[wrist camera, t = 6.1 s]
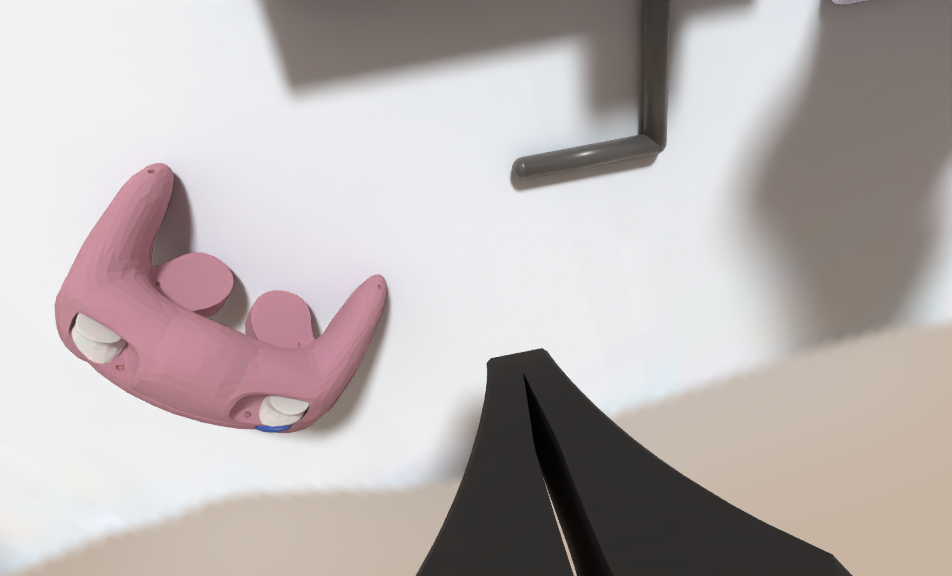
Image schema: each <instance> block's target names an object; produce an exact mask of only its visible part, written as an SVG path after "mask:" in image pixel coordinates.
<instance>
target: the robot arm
mask: <svg viewBox="0 0 952 576" xmlns="http://www.w3.org/2000/svg"><path fill="white" fill-rule="evenodd" d="M831 1H832V2H834V3H835V4H851V3H856V2H861V1H867V0H831ZM543 478H544V479H543ZM544 481H545V482H544ZM545 484H546V485H545ZM546 486H547V489H548V492H549V495H550V498H551V500H552V503H553V506H554V509H555V511H556V514H557V517H558V520H559V523H560V525H561V528H562V531H563V534H564V536H565V539H566V542H567V545H568V548H569V551H570V554H571V557H572V560H573V564H574V567H575V570H576V574H577V576H852V575H851V574H850V573H849V572H848V571H847V570H846V569H845V568H844V566H843V565H842V564H841V563H840V562H839V561H838V560H837V559H836V558H835V557H834V556H833V555H832V554H830V553H828V552H825V551H824V550H822V549H819V548H817V547H815V546H813V545H811V544H809V543H807V542H805V541H803V540H800V539H798V538H796V537H794V536H792V535H790V534H788V533H786V532H784V531H781V530H779V529H777V528H775V527H773V526H771V525H769V524H767V523H765V522H763V521H761V520H759V519H757V518H755V517H753V516H752V515H750V514H748V513H746V512H744V511H742V510H740V509H739V508H737V507H735V506H733V505H731V504H730V503H728V502H726V501H725V500H723V499H721V498H720V497H718V496H717V495H715V494H713V493H712V492H710V491H708V490H707V489H705V488H703V487H702V486H700V485H699V484H697V483H695V482H694V481H692V480H690V479H689V478H687V477H686V476H684V475H682V474H681V473H679V472H678V471H677V470H675V469H674V468H672V467H671V466H669V465H668V464H666V463H665V462H664V461H662V460H661V459H659V458H658V457H657V456H655V455H654V454H653V453H651V452H650V451H649V450H647V449H646V448H644V447H643V446H642V445H641V444H639V443H638V442H637V441H636V440H634V439H633V438H632V437H631V436H629V435H628V434H627V433H626V432H625V431H623V430H622V429H621V428H620V427H619V426H617V425H616V424H615V423H614V422H613V421H612V420H611V419H610V418H608V417H607V416H606V415H605V414H604V413H603V412H602V411H601V410H600V409H599V408H598V407H596V406H595V405H594V404H593V403H592V402H591V401H590V400H589V399H588V398H587V397H586V396H585V395H584V394H583V393H582V392H581V391H580V390H579V389H578V388H577V386H576V385H575V384H574V383H573V382H572V381H571V380H570V379H569V378H568V377H567V376H566V374H565V373H564V372H563V371H562V370H561V369H560V367H559V366H558V365H557V364H556V363H555V361H554V360H553V359H552V357H551V356H550V355H549V353H548V352H547V351H546V350H544V349H543V348H541V349H536V350H531V351H526V352H521V353H516V354H510V355H505V356H500V357H495V358H491V359H490V360H489V361H488V362H487V384H486V392H485V399H484V404H483V409H482V414H481V419H480V423H479V427H478V431H477V435H476V438H475V442H474V445H473V448H472V452H471V455H470V459H469V462H468V464H467V467H466V470H465V473H464V476H463V479H462V481H461V484H460V486H459V489H458V491H457V494H456V496H455V499H454V501H453V503H452V505H451V508H450V510H449V512H448V515H447V517H446V519H445V521H444V523H443V526H442V528H441V530H440V532H439V534H438V536H437V538H436V540H435V542H434V544H433V546H432V547H431V549H430V551H429V553H428V555H427V557H426V558H425V560H424V562H423V564H422V566H421V567H420V569H419V571H418V573H417V575H416V576H574V575H573V572H572V569H571V566H570V563H569V560H568V556H567V553H566V550H565V547H564V544H563V541H562V538H561V534H560V531H559V528H558V525H557V522H556V519H555V515H554V512H553V509H552V505H551V502H550V499H549V495H548V492H547V489H546Z"/></svg>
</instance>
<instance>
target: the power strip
mask: <svg viewBox="0 0 952 576" xmlns="http://www.w3.org/2000/svg"><path fill="white" fill-rule="evenodd" d="M669 32H670V0H644V134H642V135H637V136H632V137H626V138H621V139H616V140H610V141H605V142H600V143H595V144H589V145H584V146H579V147H573V148H568V149H563V150H558V151H552V152H547V153H542V154H536V155H531V156H526V157H521V158H518V159H517V160H516V161H515V162H514V163H513V166H512V171H513V174H514V175H515V176H516V177H517V178H519V179H528V178H534V177H539V176H544V175H549V174H555V173H560V172H565V171H571V170H576V169H581V168H586V167H592V166H597V165H602V164H607V163H613V162H618V161H623V160H629V159H634V158H639V157H644V156H650V155H655V154H659V153H661V152H662V151H663V150H664V149H665V147H666V140H667V104H668V68H669Z"/></svg>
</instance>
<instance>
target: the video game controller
mask: <svg viewBox="0 0 952 576" xmlns="http://www.w3.org/2000/svg"><path fill="white" fill-rule="evenodd" d="M173 183H174V174H173V172H172V170H171V168H170V167H168V166H167V165H165V164H162V163H155V164H152V165H149V166H147V167H145V168H144V169H142V170H141V171H139V172H138V173H136V174H135V175H134V176H132V177H131V178H130V179H129V180H128V181H127V182H126V183H125V184H124V186H123V187H122V188H121V189H120V191H119V192H118V193H117V195H116V196H115V198H114V199H113V201H112V202H111V203H110V205H109V206H108V208H107V209H106V211H105V212H104V214H103V215H102V216H101V218H100V219H99V221H98V222H97V224H96V225H95V226H94V228H93V229H92V231H91V232H90V234H89V236H88V237H87V239H86V240H85V242H84V244H83V245H82V247H81V249H80V251H79V253H78V255H77V257H76V259H75V261H74V263H73V265H72V267H71V269H70V271H69V273H68V275H67V277H66V279H65V281H64V283H63V285H62V287H61V289H60V291H59V293H58V295H57V297H56V302H55V317H56V325H57V330H58V333H59V336H60V338H61V340H62V341H63V343H64V345H65V346H66V347H67V348H68V349H69V350H70V351H71V352H72V353H73V354H74V355H76V356H77V357H78V358H80V359H82V360H84V361H86V362H88V363H89V364H90V365H91V366H92V367H93V368H94V369H95V370H96V371H97V372H98V373H100V374H101V375H103V376H104V377H105V378H107V379H108V380H109V381H111V382H112V383H113V384H115V385H117V386H118V387H120V388H121V389H123V390H124V391H126V392H127V393H129V394H131V395H133V396H135V397H137V398H139V399H141V400H143V401H145V402H147V403H149V404H151V405H153V406H156V407H158V408H161V409H163V410H166V411H168V412H171V413H173V414H176V415H179V416H183V417H186V418H190V419H193V420H196V421H200V422H204V423H209V424H214V425H218V426H224V427H231V428H238V429H257V430H260V431H263V432H277V433H290V432H296V431H299V430H303V429H305V428H307V427H308V426H310V425H312V424H313V423H314V422H316V421H317V420H318V419H319V418H320V417H321V416H323V415H324V414H325V413H326V412H327V411H329V410H330V409H331V408H332V407H333V405H334V404H335V403H336V401H337V400H338V398H339V397H340V395H341V394H342V393H343V391H344V390H345V388H346V387H347V385H348V383H349V382H350V380H351V378H352V377H353V375H354V373H355V371H356V369H357V367H358V365H359V363H360V361H361V359H362V358H363V355H364V353H365V351H366V348H367V346H368V344H369V341H370V339H371V337H372V334H373V332H374V330H375V327H376V325H377V323H378V320H379V318H380V316H381V313H382V310H383V307H384V304H385V299H386V293H387V288H386V281H385V279H384V277H382V276H381V275H374V276H371V277H370V278H369V279H367V280H366V281H365V282H364V283H363V284H361V285H360V286H359V287H358V288H357V289H356V290H355V291H354V292H353V293H352V294H351V296H350V297H349V298H348V300H347V301H346V302H345V303H344V305H343V306H342V307H341V309H340V310H339V311H338V313H337V314H336V315H335V316H334V318H333V319H332V321H331V322H330V324H329V325H328V327H327V329H326V330H325V332H324V333H323V334H322V335H321V336H320V337H319V338H317V339H316V338H315V337H313V332H312V326H311V315H310V311H309V308H308V306H307V304H306V303H305V302H304V301H303V300H302V299H301V298H300V297H299V296H297V295H295V294H292V293H290V292H286V291H269V292H267V293H264V294H263V295H261V296H260V297H258V299H257V300H256V301H255V303H254V305H253V306H252V308H251V310H250V312H249V314H248V316H247V319H246V322H245V333H246V335H245V334H243V333H241V332H238V331H236V330H234V329H231V328H229V327H227V326H224V325H222V324H219V323H217V322H215V321H212V320H210V319H208V318H207V317H209V316H211V315H213V314H214V313H216V312H217V311H218V310H219V309H220V308H221V307H222V306H223V304H224V302H225V300H226V299H227V298H228V296H229V294H230V292H231V290H232V288H233V276H232V273H231V271H230V270H229V268H228V267H227V266H226V265H225V264H224V263H223V262H222V261H220V260H219V259H217V258H216V257H214V256H211V255H208V254H205V253H188V254H185V255H182V256H179V257H177V258H175V259H173V260H171V261H169V262H167V263H164V264H161V265H158V266H153V265H152V263H151V257H152V250H153V242H154V240H155V237H156V235H157V232H158V230H159V228H160V225H161V223H162V220H163V218H164V216H165V213H166V211H167V208H168V204H169V201H170V197H171V194H172V190H173Z"/></svg>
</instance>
